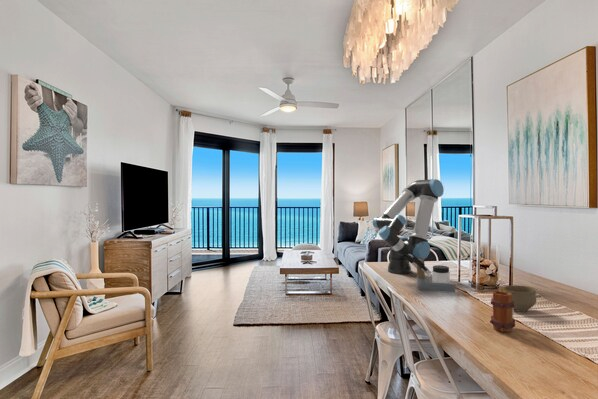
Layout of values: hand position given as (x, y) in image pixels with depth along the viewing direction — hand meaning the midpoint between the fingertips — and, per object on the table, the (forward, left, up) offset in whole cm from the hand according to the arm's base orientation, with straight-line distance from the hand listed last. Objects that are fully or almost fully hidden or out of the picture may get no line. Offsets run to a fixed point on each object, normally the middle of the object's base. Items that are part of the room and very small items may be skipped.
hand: (425, 271), depth 202 cm
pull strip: (+12, +4, -5) cm, 13 cm away
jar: (+19, +6, -5) cm, 21 cm away
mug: (+71, +21, -5) cm, 74 cm away
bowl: (+48, +34, -5) cm, 59 cm away
